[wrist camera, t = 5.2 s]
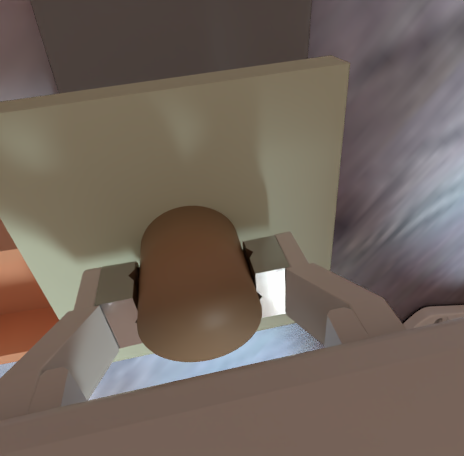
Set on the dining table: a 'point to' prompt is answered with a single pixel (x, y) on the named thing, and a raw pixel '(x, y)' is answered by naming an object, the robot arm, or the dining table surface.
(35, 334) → the orange square open box
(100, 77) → the mat
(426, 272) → the dining table surface
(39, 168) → the lid
